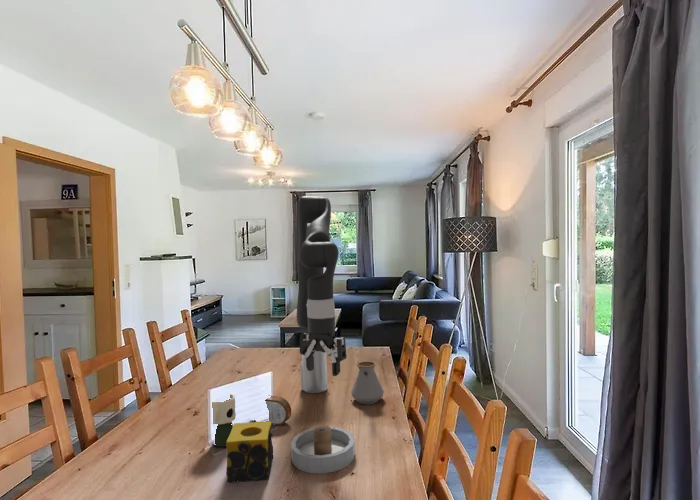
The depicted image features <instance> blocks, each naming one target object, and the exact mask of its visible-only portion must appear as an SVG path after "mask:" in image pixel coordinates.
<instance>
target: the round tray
mask: <svg viewBox="0 0 700 500" xmlns="http://www.w3.org/2000/svg"><path fill="white" fill-rule="evenodd" d="M329 427H330V428H331V443H332V453H331V454H327V455H315V454H314V433H313V430H314V428H315V427H312V428H309V429H306V430H303V431H301V432H299V433H298V434H296V435H294V437H293V439H292V440H291V441H290V453H291V457H290V458H291V463H292V465H293V466H294V467H296V468H297V469H298V470H299V471H303V472H305V473H309V474H328V473H333V472H337V471H339V470H342V469H344V468H347V467H348V465H350V464H351V463H352V462H353V461H354V459H355V455H356V447H355V446H356V443H355V438H354V435H353V434H352V433H351V432H349V431H348V430H347V429H344V428H341V427H336V426H329Z"/></svg>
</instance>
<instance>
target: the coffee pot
mask: <svg viewBox="0 0 700 500" xmlns="http://www.w3.org/2000/svg"><path fill="white" fill-rule="evenodd" d="M356 366H357V368H358V369H359V371H358V373H357V376H356V378H355V381H354V383H353V386H352V390H351V391H350V393H351V397H352V398H354V400H356V402H357V403H359V404H362V405H373V404H376V403H378V402H379V400H381V399H382V398H383V396H384V394H385V392H384V388H383V386H382V384H381V382H380V379H379V378H378V375H377V373H376V371H375V366H376V362H374V361H369V360H368V361H367V360H366V361H360V362H357V363H356Z"/></svg>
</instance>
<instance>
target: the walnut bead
mask: <svg viewBox="0 0 700 500" xmlns="http://www.w3.org/2000/svg"><path fill="white" fill-rule="evenodd" d="M330 427H331V426H328V425H317V426H316V427H313V428H314V430H313V433H314V454H315V455H327V454H331V453H332V443H331V428H330Z"/></svg>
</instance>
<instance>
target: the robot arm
mask: <svg viewBox="0 0 700 500" xmlns="http://www.w3.org/2000/svg"><path fill="white" fill-rule="evenodd" d="M297 215H298V216H297V217H298V220H297V221H298V257H297V258H298V260H297V261H298V262H297V271H298V273H297V276H298V277H297V278H298V280H297V281H298V283H297V284H298V287H297V289H298V292H297V303H296V304H297V305H296V306H297V307H296V323H297V326H298V327H299V328H302V329H304V328H305V329H306V328H307V330H308V331H306V332H303V333H300V335H299V354H300V355H301V357H302V359H301V361H302V362H301V363H302V364H301V365H300V389H301V390H302V391H303V392H305V393H308V394H319V393H323V392H325V391H327V390H328V370H327V357H330V360H331V361H332V362H331V368H332V369H331V371H332V372H331V374H332V376H333V377H337V376H338V375H339V374H340V373H341V362H342V361H344V360H346V359H347V345H346V338H345V337H344V336H342V337H336V336H335V332H336V314H335V313H336V311H335V310H336V308H335V300H334V276H335V271H336V268H337V264H338V259H339V248H338V246H337V244H336V243H335V242H333V241H331V236H330V227H331V226H330V225H331V220H332V219H331V218H332V205H331V201H330V199H329V198H328V197H326V196H315V195H313V196H311V195H310V196H309V195H304V196H301V197H299V200H298V205H297ZM308 224H309V225H308ZM324 269H325V271H324Z"/></svg>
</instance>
